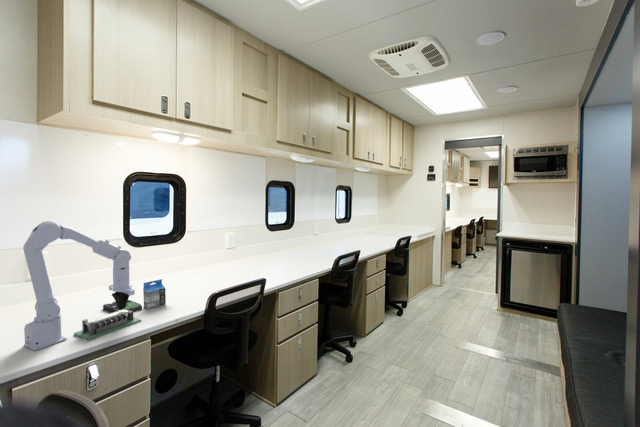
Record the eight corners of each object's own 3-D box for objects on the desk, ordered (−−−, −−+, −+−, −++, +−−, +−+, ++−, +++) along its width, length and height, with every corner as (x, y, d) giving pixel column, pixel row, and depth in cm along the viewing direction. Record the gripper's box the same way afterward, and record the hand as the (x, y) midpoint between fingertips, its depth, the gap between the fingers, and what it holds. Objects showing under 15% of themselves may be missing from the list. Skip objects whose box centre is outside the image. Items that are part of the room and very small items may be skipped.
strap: (88, 329, 113) (88, 323, 113) (84, 327, 114) (84, 321, 114) (127, 315, 126) (127, 310, 126) (123, 314, 127) (123, 308, 127)
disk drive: (102, 310, 140) (119, 317, 132) (102, 305, 139) (119, 311, 132) (125, 303, 149) (142, 309, 142) (125, 298, 149) (142, 304, 141)
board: (88, 341, 110) (88, 330, 110) (73, 335, 114) (73, 324, 114) (141, 321, 128) (140, 311, 128) (126, 316, 132) (126, 307, 132)
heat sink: (91, 336, 112) (91, 323, 112) (81, 332, 115) (81, 320, 115) (127, 323, 124) (126, 311, 124) (117, 319, 127) (116, 308, 127)
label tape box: (147, 309, 141) (146, 284, 140) (143, 307, 143) (143, 282, 142) (165, 304, 148) (165, 280, 147) (162, 302, 150) (161, 278, 149)
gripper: (141, 277, 125) (141, 309, 126) (120, 272, 131) (121, 302, 132) (124, 281, 118) (124, 314, 119) (103, 276, 125) (103, 308, 126)
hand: (121, 309), depth 125 cm, fingers closed
